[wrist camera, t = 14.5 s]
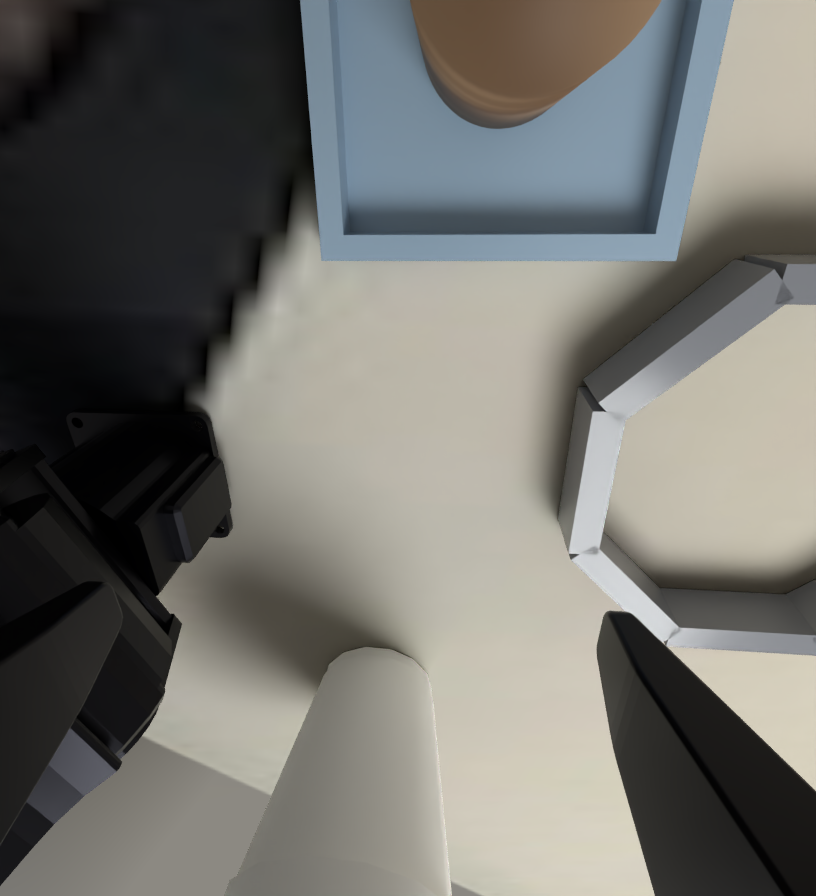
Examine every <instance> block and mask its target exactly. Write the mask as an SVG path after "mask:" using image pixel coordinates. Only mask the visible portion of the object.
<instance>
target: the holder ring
mask: <svg viewBox="0 0 816 896" xmlns="http://www.w3.org/2000/svg"><path fill="white" fill-rule="evenodd" d="M785 304H797V305H816V255H746V256H745V259H744V261H741V260H737V259H734V260H733V261H731V262H730V263H729V264H728V265H726V266H725V267H724V268H723V269H721V270H720V271H719V272H718V273H716V274H715V275H714V276H712V277H711V278H710V279H709V280H707V281H706V282H705V283H704V284H702V285H701V286H700V287H699V288H697V289H696V290H695V291H694V292H692V293H691V294H690V295H689V296H687V297H686V298H685V299H684V300H682V301H681V302H680V303H678V304H677V305H676V306H675V307H673V308H672V309H671V310H670V311H668V312H667V313H666V314H665V315H663V316H662V317H661V318H660V319H658V320H657V321H656V322H655V323H653V324H652V325H651V326H649V327H648V328H647V329H646V330H644V331H643V332H642V333H641V334H639V335H638V336H637V337H636V338H634V339H633V340H632V341H631V342H629V343H628V344H627V345H626V346H624V347H623V348H622V349H620V350H619V351H618V352H617V353H615V354H614V355H613V356H612V357H610V358H609V359H608V360H607V361H605V362H604V363H603V364H602V365H600V366H599V367H598V368H597V369H595V370H594V371H593V372H591V373H590V374H589V375H588V376H586V377H585V378H584V379H583V380H584V382H585V383H586V385H587V386H588V387H578V390H577V397H576V403H575V410H574V416H573V423H572V429H571V436H570V442H569V449H568V456H567V462H566V469H565V475H564V482H563V488H562V495H561V501H560V508H559V514H558V521H559V524H560V527H561V531H562V534H563V537H564V541H565V544H566V547H567V550H568V554H569V556H570V559H571V561H572V562H574V563H575V564H576V565H577V566H578V567H579V568H580V569H581V570H582V571H583V572H584V573H585V574H586V575H587V576H588V577H589V578H590V579H591V580H593V581H594V582H595V583H596V584H597V585H598V586H599V587H600V588H601V589H602V590H603V591H604V592H605V593H606V594H607V595H608V596H609V597H610V598H612V599H613V600H614V601H615V602H616V603H617V604H618V605H619V606H620V607H621V608H622V609H623V610H624V611H625V612H630V613H632V614H633V615H634V616H635V617H637V618H638V619H639V620H640V621H641V622H642V623H643V624H644V625H645V626H646V627H647V628H648V629H649V630H650V631H651V632H652V633H653V634H654V635H655V636H656V637H657V638H658V639H659V640H660V641H661V642H664V643H665V645H666V646H667V647H683V648H699V649H716V650H732V651H748V652H765V653H781V654H797V655H814V656H816V579H815V580H813V581H811V582H809V583H807V584H805V585H803V586H801V587H799V588H797V589H795V590H793V591H791V592H789V593H787V594H767V593H747V592H728V591H709V590H690V589H671V588H659V587H658V586H657V585H656V584H655V583H654V582H653V581H652V580H651V579H650V578H649V577H648V576H647V575H646V574H645V573H644V572H643V571H642V570H641V569H640V568H639V567H638V566H637V565H636V564H635V563H634V562H633V561H632V560H631V559H630V558H629V557H628V556H627V555H626V554H625V553H624V552H623V551H622V550H621V549H620V548H619V547H618V546H617V545H616V544H615V543H614V542H613V541H612V540H611V539H610V538H609V537H608V536H607V535H606V534H605V533H604V532H603V529H604V524H605V519H606V514H607V509H608V504H609V499H610V495H611V490H612V485H613V480H614V475H615V470H616V465H617V461H618V456H619V451H620V446H621V441H622V436H623V431H624V427H625V422H626V420H627V419H628V418H630V417H631V416H632V415H634V414H635V413H637V412H638V411H639V410H641V409H642V408H643V407H645V406H646V405H647V404H649V403H650V402H652V401H653V400H654V399H656V398H657V397H658V396H660V395H661V394H663V393H664V392H665V391H667V390H668V389H669V388H671V387H672V386H674V385H675V384H676V383H678V382H679V381H680V380H682V379H683V378H685V377H686V376H687V375H689V374H690V373H691V372H693V371H694V370H696V369H697V368H698V367H700V366H701V365H702V364H704V363H705V362H707V361H708V360H709V359H711V358H712V357H713V356H715V355H716V354H718V353H719V352H720V351H722V350H723V349H724V348H726V347H727V346H729V345H730V344H731V343H733V342H734V341H735V340H737V339H738V338H740V337H741V336H742V335H744V334H745V333H746V332H748V331H749V330H751V329H752V328H753V327H755V326H756V325H757V324H759V323H760V322H762V321H763V320H764V319H766V318H767V317H768V316H770V315H771V314H773V313H774V312H775V311H777V310H778V309H779V308H781V307H782V306H784V305H785Z"/></svg>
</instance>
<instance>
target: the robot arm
mask: <svg viewBox="0 0 816 896" xmlns="http://www.w3.org/2000/svg"><path fill="white" fill-rule="evenodd" d="M78 418H79V419H80V420H81V421H82V422H83V424H82V423H81V422H79V420H78ZM66 421H67V425H68V428H69V431H70V433H71V436H72V439H73V442H74V445H75V448H74V449H73V450H71V451H70V452H68V453H67V454H66V455H64V456H63V457H61V458H60V459H58V460H57V461H55V462H54V463H52V464H51V465H48V464H47V463H46V462H45V460H44V458H45V457H46V456H45V455H44V454H43V453H42V451H41V450H40V449H39V448H38V446H37V445H36V444H33V445H31V446H28V447H26V448H24V449H21V450H19V451H17V452H14V450H13V449H11V450H8V451H6V452H4V451H1V452H0V885H1V884H2V883H3V882H4V881H5V880H6V878H7V877H8V876H9V875H10V874H11V873H12V871H13V870H14V869H15V868H16V867H17V866H18V864H19V863H20V862H21V861H22V860H23V859H24V857H25V856H26V855H27V854H28V853H29V851H30V850H31V849H32V848H33V847H34V846H35V845H36V844H37V843H38V841H39V840H40V839H41V838H42V837H43V836H44V835H45V834H46V832H48V830H49V829H50V828H51V827H52V826H53V825H54V824H55V823H56V822H57V821H58V820H59V819H60V818H61V817H62V816H63V815H65V813H67V812H68V811H69V810H70V809H71V808H72V807H73V806H74V805H75V804H76V803H77V802H78V801H79V800H80V799H81V798H83V797H84V796H85V795H86V794H88V793H89V792H90V791H92V790H93V789H94V788H96V787H97V786H98V785H100V784H101V783H102V782H104V781H105V780H106V779H108V778H109V777H110V776H111V775H113V774H114V773H115V772H116V771H117V770H118V769H119V768H120V766H121V764H122V761H121V760H120V759H121V758H122V757H123V756H124V755H125V754H126V753H127V752H128V751H129V750H130V749H131V748H132V747H133V746H134V745H135V743H136V742H137V741H138V740H139V739H140V737H141V736H142V735H143V733H144V732H145V731H146V729H147V728H148V727H149V725H150V723H151V722H152V720H153V718H154V716H155V715H156V713H157V710H158V707H159V705H160V703H161V702H162V700H163V697H164V694H165V684H166V680H167V677H168V673H169V670H170V666H171V662H172V659H173V655H174V651H175V648H176V644H177V640H178V637H179V633H180V629H181V626H182V623H181V622H180V621H179V620H178V618H177V617H176V616H175V615H174V614H170V613H169V612H168V611H167V609H166V608H165V607H164V606H163V605H162V603H161V602H160V601H159V600H158V598H157V597H156V596H157V595H158V594H159V593H160V592H161V591H162V589H163V588H164V587H165V585H166V584H167V583H168V581H169V580H170V578H171V577H172V576H173V574H174V573H175V572H176V570H177V569H178V568H179V566H180V565H181V563H190V562H191V561H192V560H193V559H194V558H195V557H196V555H197V554H198V552H199V551H200V550H201V548H202V547H203V545H204V544H205V543H206V541H207V540H208V538H209V537H215V538H224V537H226V536H228V534H229V533H230V531H231V530H232V528H233V525H232V520H231V515H230V510H229V509H230V508H231V500H230V495H229V490H228V485H227V480H226V475H225V470H224V465H223V461H222V460H221V459H220V458H219V456H218V451H217V447H216V442H215V437H214V432H213V427H212V423H211V420H210V418H209V417H208V416H207V415H205V414H204V413H200V412H177V411H140V410H102V409H77V410H74V411H73V412H71V413H69V414H68V415H67V418H66ZM195 421H198V422H199V423H201V425H202V428H201V427H198V426H197V425H196V423H195ZM218 525H220V526H222V527H223V528H224V529H222V528H220V527H219V526H218ZM597 660H598V665H599V671H600V677H601V683H602V688H603V694H604V700H605V706H606V711H607V717H608V723H609V729H610V734H611V739H612V744H613V749H614V753H615V757H616V761H617V765H618V768H619V772H620V775H621V779H622V782H623V786H624V789H625V793H626V796H627V799H628V803H629V806H630V810H631V813H632V817H633V820H634V824H635V827H636V831H637V834H638V838H639V841H640V845H641V848H642V852H643V855H644V859H645V862H646V866H647V869H648V873H649V876H650V880H651V883H652V887H653V890H654V894H655V896H816V791H815V790H814V789H813V788H812V787H811V786H810V785H809V784H808V783H807V782H806V781H805V780H804V779H803V778H802V777H801V776H800V775H799V774H798V773H797V772H796V771H795V770H794V769H793V768H791V767H790V766H789V765H788V764H787V763H786V762H785V761H784V760H783V759H782V758H781V757H780V756H779V755H778V754H777V753H776V752H775V751H774V750H773V749H772V748H771V747H770V746H769V745H768V744H767V743H766V742H765V741H764V740H763V739H762V738H760V737H759V736H758V735H757V734H756V733H755V732H754V731H753V730H752V729H751V728H750V727H749V726H748V725H747V724H746V723H745V722H744V721H743V720H742V719H741V718H740V717H739V716H738V715H737V714H736V713H735V712H734V711H733V710H732V709H731V708H729V707H728V706H727V705H726V704H725V703H724V702H723V701H722V700H721V699H720V698H719V697H718V696H717V695H716V694H715V693H714V692H713V691H712V690H711V689H710V688H709V687H708V686H707V685H706V684H705V683H704V682H703V681H702V680H701V679H700V678H699V677H697V676H696V675H695V674H694V673H693V672H692V671H691V670H690V669H689V668H688V667H687V666H686V665H685V664H684V663H683V662H682V661H681V660H680V659H679V658H678V657H677V656H676V655H675V654H674V653H673V652H672V651H671V650H670V649H669V648H668V647H666V646H665V645H664V644H663V643H662V642H661V641H660V640H659V639H658V638H657V637H656V636H655V635H654V634H653V633H652V632H651V631H650V630H649V629H648V628H647V627H646V626H645V625H644V624H643V623H642V622H641V621H640V620H639V619H638V618H637V617H635V616H634V615H633V614H632V613H630V612H622V611H607V612H606V613H605V614H604V617H603V621H602V625H601V629H600V634H599V638H598V642H597Z"/></svg>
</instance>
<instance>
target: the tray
mask: <svg viewBox="0 0 816 896" xmlns="http://www.w3.org/2000/svg"><path fill="white" fill-rule="evenodd" d="M733 1H734V0H661V2H660V4H659V6H658V7H657V9H656V10H655V12H654V13H653V15H652V16H651V18H650V19H649V21H648V22H647V23H646V25H645V26H644V27H643V28H642V30H641V31H640V32H639V33H638V34H637V36H636V37H635V38H634V39H633V40H632V42H631V43H630V44H629V45H628V46H627V47H626V48H625V49H624V50H622V51H621V52H620V53H619V54H618V55H617V56H616V57H615V58H614V59H613V60H611V61H610V62H609V63H607V64H606V65H605V66H604V67H602V68H601V69H600V70H598V71H597V72H596V73H595V74H593V75H592V76H591V77H589V78H588V79H587V80H586V81H584V82H583V83H582V84H580V85H579V86H578V87H577V88H575V89H574V90H573V91H572V92H570V93H569V94H568V95H566V96H565V97H564V98H563V99H561V100H560V101H559V102H557V103H556V104H555V105H554V106H552V107H551V108H550V109H548V110H547V111H546V112H544V113H543V114H542V115H540V116H539V117H537V118H535V119H534V120H532V121H530V122H527V123H525V124H522V125H519V126H516V127H512V128H504V129H490V128H485V127H480V126H477V125H474V124H472V123H469V122H467V121H466V120H464V119H462V118H460V117H459V116H458V115H456V114H455V113H454V112H453V111H452V110H451V109H450V108H449V107H448V106H447V105H446V104H445V103H444V102H443V101H442V99H441V98H440V97H439V95H438V94H437V92H436V90H435V88H434V87H433V85H432V83H431V80H430V78H429V76H428V73H427V70H426V67H425V63H424V59H423V55H422V51H421V46H420V42H419V38H418V33H417V29H416V25H415V21H414V16H413V12H412V8H411V3H410V0H300V5H301V17H302V29H303V41H304V53H305V65H306V77H307V89H308V101H309V113H310V126H311V138H312V150H313V162H314V174H315V186H316V198H317V210H318V222H319V234H320V247H321V259H322V261H676V259H677V255H678V250H679V246H680V241H681V237H682V232H683V228H684V223H685V219H686V214H687V210H688V205H689V201H690V196H691V191H692V187H693V182H694V178H695V173H696V169H697V164H698V160H699V155H700V151H701V146H702V142H703V137H704V133H705V128H706V124H707V119H708V115H709V110H710V106H711V101H712V96H713V92H714V87H715V83H716V78H717V74H718V69H719V65H720V60H721V56H722V51H723V47H724V42H725V38H726V33H727V29H728V24H729V20H730V15H731V10H732V6H733Z"/></svg>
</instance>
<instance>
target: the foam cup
mask: <svg viewBox="0 0 816 896" xmlns="http://www.w3.org/2000/svg"><path fill="white" fill-rule="evenodd" d="M225 896H452V893H451V882H450V872H449V861H448V851H447V840H446V830H445V819H444V809H443V798H442V788H441V777H440V767H439V756H438V746H437V735H436V725H435V714H434V704H433V698H432V689H431V685H430V681H429V677H428V674H427V673H426V672H425V671H424V670H423V669H422V668H421V666H420V665H419V664H418V663H417V662H416V661H415V660H414V659H412V658H410V657H407V656H405V655H403V654H401V653H398V652H396V651H394V650H391V649H384V648H373V647H363V648H359V649H355V650H351V651H347V652H343V653H342V654H341V655H340V656H338V657H337V658H336V659H335V660H334V661H332V662H331V663H330V664H329V666H328V669H327V672H326V673H325V674H324V676H323V678H322V681H321V683H320V685H319V688H318V690H317V692H316V694H315V697H314V699H313V701H312V704H311V706H310V708H309V711H308V713H307V715H306V718H305V720H304V722H303V724H302V727H301V729H300V731H299V734H298V736H297V738H296V741H295V743H294V745H293V748H292V750H291V752H290V754H289V757H288V759H287V761H286V764H285V766H284V768H283V771H282V773H281V775H280V778H279V780H278V782H277V784H276V787H275V789H274V791H273V794H272V796H271V798H270V801H269V803H268V805H267V808H266V810H265V812H264V814H263V817H262V819H261V821H260V824H259V826H258V828H257V831H256V833H255V835H254V838H253V840H252V842H251V844H250V847H249V849H248V851H247V854H246V856H245V858H244V861H243V863H242V865H241V868H240V870H239V872H238V874H237V876H236V877H234V878H232V879H231V880H229V883H228V886H227V889H226V892H225Z"/></svg>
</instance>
